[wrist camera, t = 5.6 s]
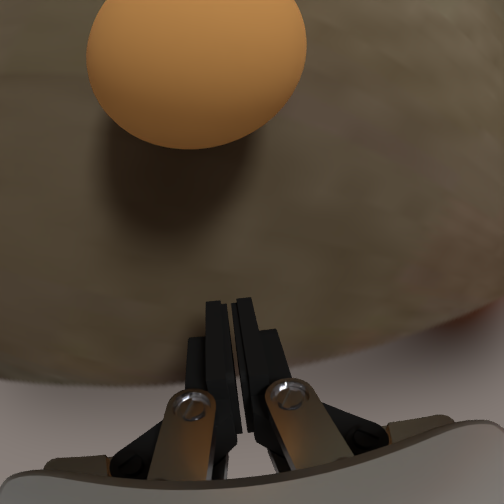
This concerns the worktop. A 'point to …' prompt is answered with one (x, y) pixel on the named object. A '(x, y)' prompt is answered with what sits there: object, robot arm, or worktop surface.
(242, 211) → the worktop surface
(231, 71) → the ball
